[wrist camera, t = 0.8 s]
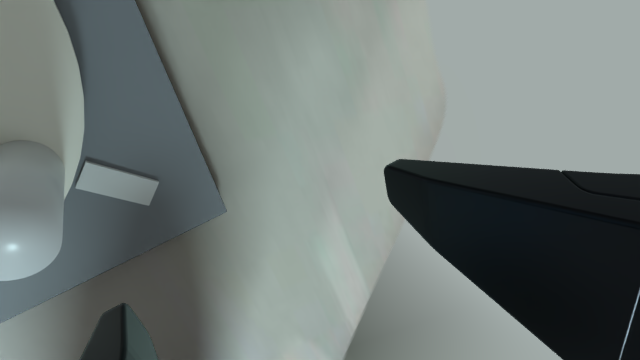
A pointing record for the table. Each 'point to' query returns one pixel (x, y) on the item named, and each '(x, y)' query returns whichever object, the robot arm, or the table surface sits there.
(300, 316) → the table surface
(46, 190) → the dial
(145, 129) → the dial board
